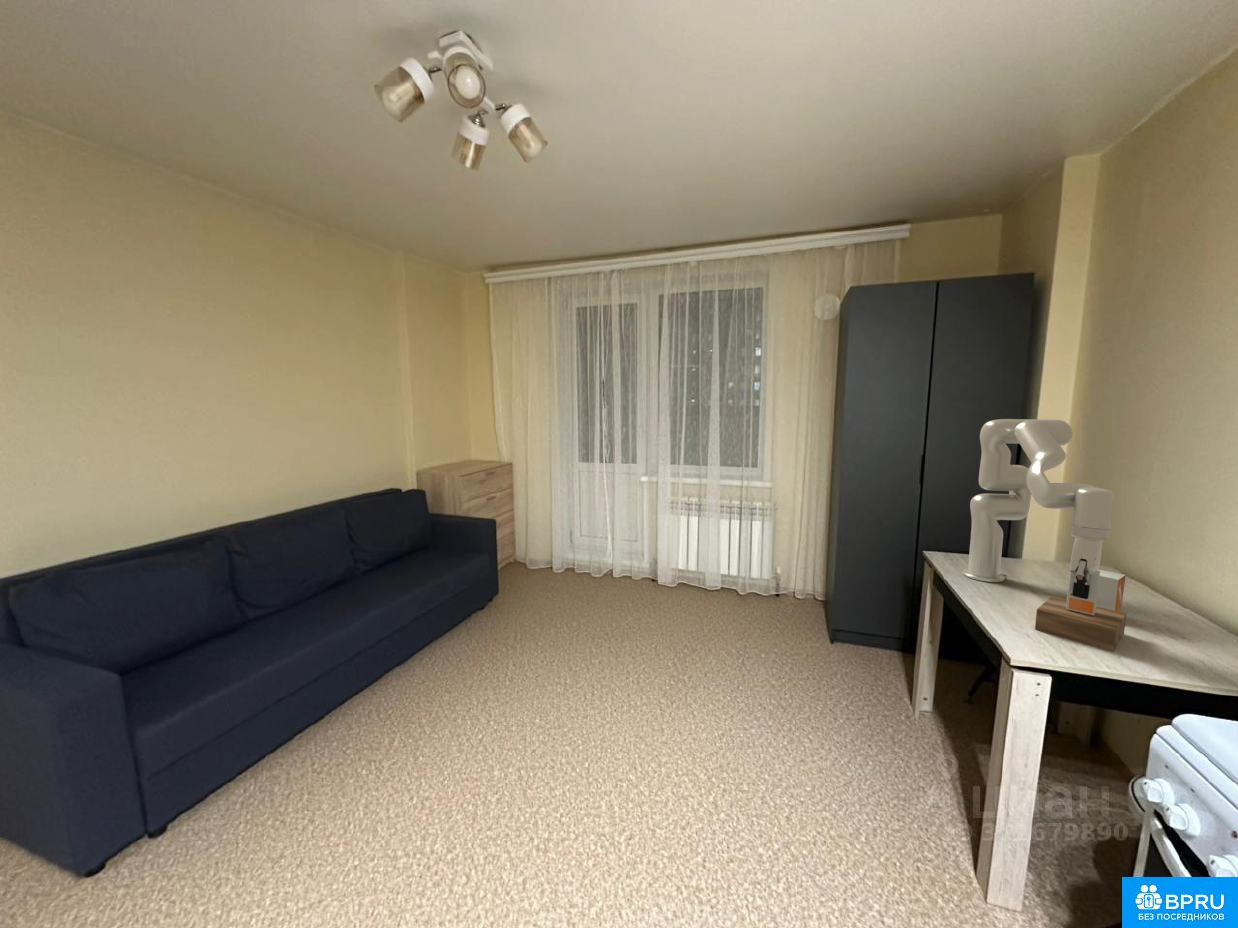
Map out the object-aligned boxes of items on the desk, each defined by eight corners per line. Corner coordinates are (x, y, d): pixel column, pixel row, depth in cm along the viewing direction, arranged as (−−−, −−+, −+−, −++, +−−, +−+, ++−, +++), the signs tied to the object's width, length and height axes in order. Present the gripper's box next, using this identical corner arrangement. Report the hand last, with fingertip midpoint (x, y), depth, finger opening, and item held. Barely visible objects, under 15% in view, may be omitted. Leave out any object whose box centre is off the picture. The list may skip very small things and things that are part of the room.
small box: (1114, 621, 144) (1119, 579, 143) (1085, 614, 150) (1089, 573, 148) (1121, 615, 149) (1126, 574, 147) (1093, 608, 154) (1097, 568, 153)
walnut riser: (1049, 614, 149) (1051, 596, 149) (1123, 634, 137) (1126, 613, 136) (1034, 629, 140) (1036, 609, 139) (1113, 651, 127) (1115, 629, 126)
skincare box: (1065, 609, 138) (1069, 568, 137) (1066, 605, 141) (1070, 565, 140) (1095, 616, 134) (1099, 574, 133) (1096, 612, 137) (1100, 570, 136)
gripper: (1079, 525, 143) (1072, 583, 145) (1064, 534, 133) (1057, 597, 135) (1115, 530, 137) (1107, 591, 139) (1102, 540, 127) (1095, 606, 129)
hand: (1083, 593), depth 137 cm, fingers open, 6 cm apart
